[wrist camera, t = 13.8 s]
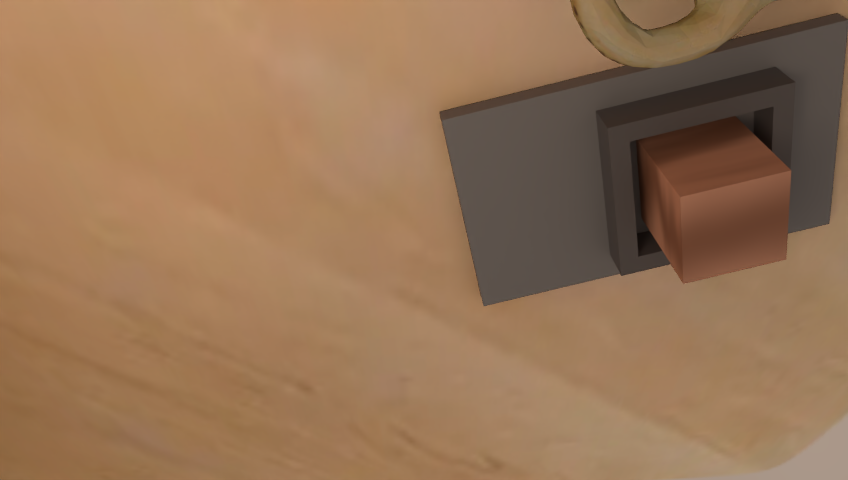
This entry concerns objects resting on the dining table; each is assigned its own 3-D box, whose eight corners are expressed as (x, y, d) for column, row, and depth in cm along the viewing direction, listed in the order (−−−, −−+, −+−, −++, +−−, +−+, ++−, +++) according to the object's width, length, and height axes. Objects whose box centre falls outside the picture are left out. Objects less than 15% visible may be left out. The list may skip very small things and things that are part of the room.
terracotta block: (635, 137, 40) (680, 197, 35) (732, 113, 40) (791, 170, 35) (641, 217, 43) (683, 283, 38) (731, 196, 42) (785, 259, 37)
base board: (481, 295, 46) (489, 328, 43) (439, 111, 39) (447, 138, 36) (819, 214, 45) (849, 243, 42) (837, 13, 38) (873, 33, 36)
